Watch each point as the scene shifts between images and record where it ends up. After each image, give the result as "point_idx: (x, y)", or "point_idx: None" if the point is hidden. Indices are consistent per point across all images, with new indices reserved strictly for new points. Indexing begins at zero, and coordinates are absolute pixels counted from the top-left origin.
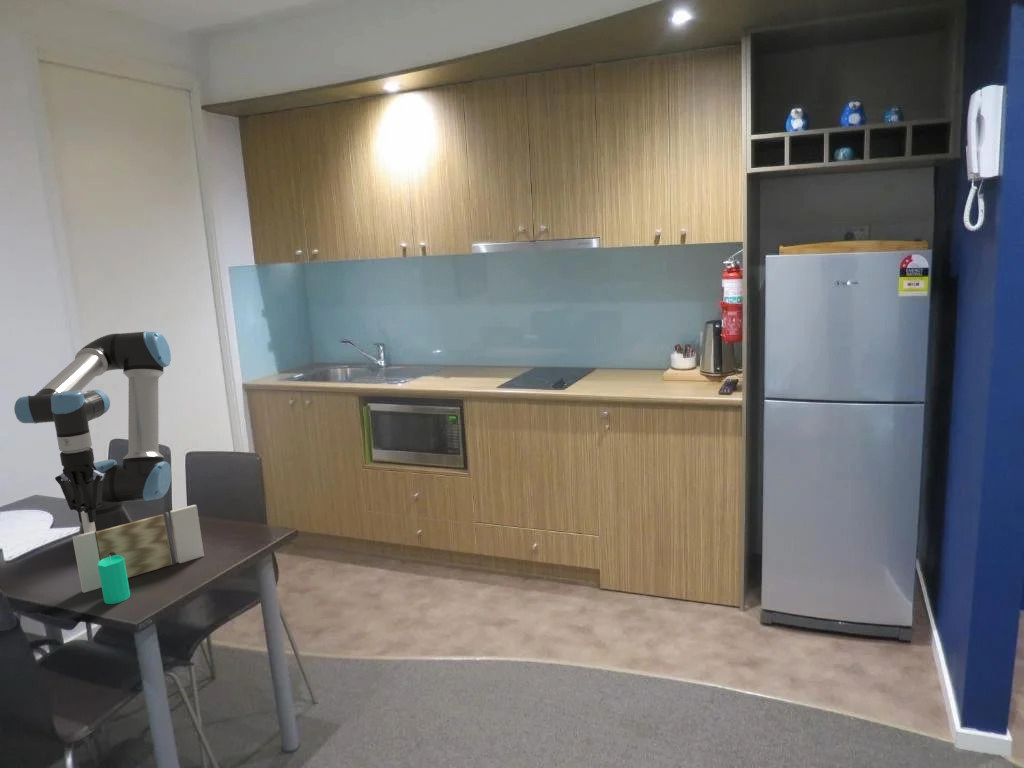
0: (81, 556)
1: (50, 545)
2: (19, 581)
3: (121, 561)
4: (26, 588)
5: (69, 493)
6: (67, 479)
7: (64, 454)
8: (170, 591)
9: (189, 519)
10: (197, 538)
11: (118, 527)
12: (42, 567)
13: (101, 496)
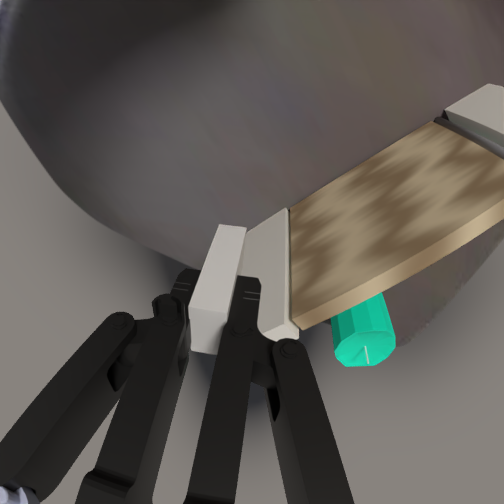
0: None
1: None
2: (59, 163)
3: (391, 349)
4: (98, 199)
5: (86, 430)
6: (29, 499)
7: None
8: (446, 269)
9: None
10: None
11: (380, 290)
12: (56, 92)
13: (322, 412)
